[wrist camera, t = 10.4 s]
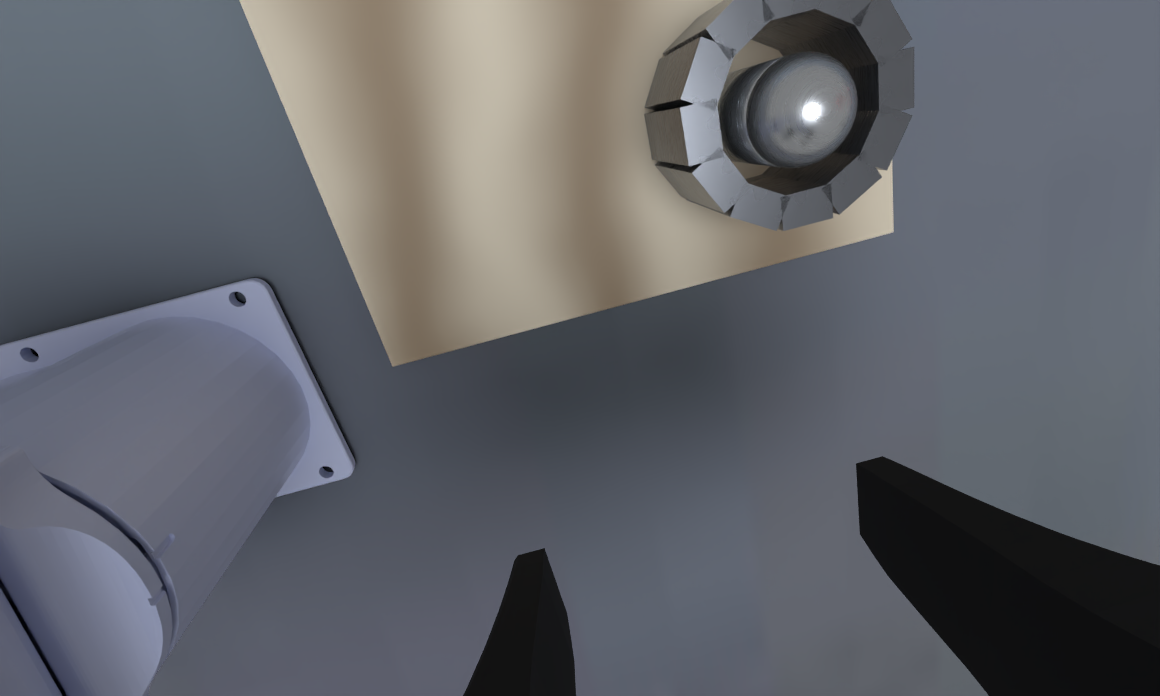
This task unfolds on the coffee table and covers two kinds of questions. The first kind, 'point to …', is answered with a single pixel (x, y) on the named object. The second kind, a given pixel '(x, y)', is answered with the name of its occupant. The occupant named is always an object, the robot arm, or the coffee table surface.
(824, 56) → the post
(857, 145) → the ring
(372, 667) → the coffee table surface
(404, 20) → the board
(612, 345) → the coffee table surface
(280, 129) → the coffee table surface
